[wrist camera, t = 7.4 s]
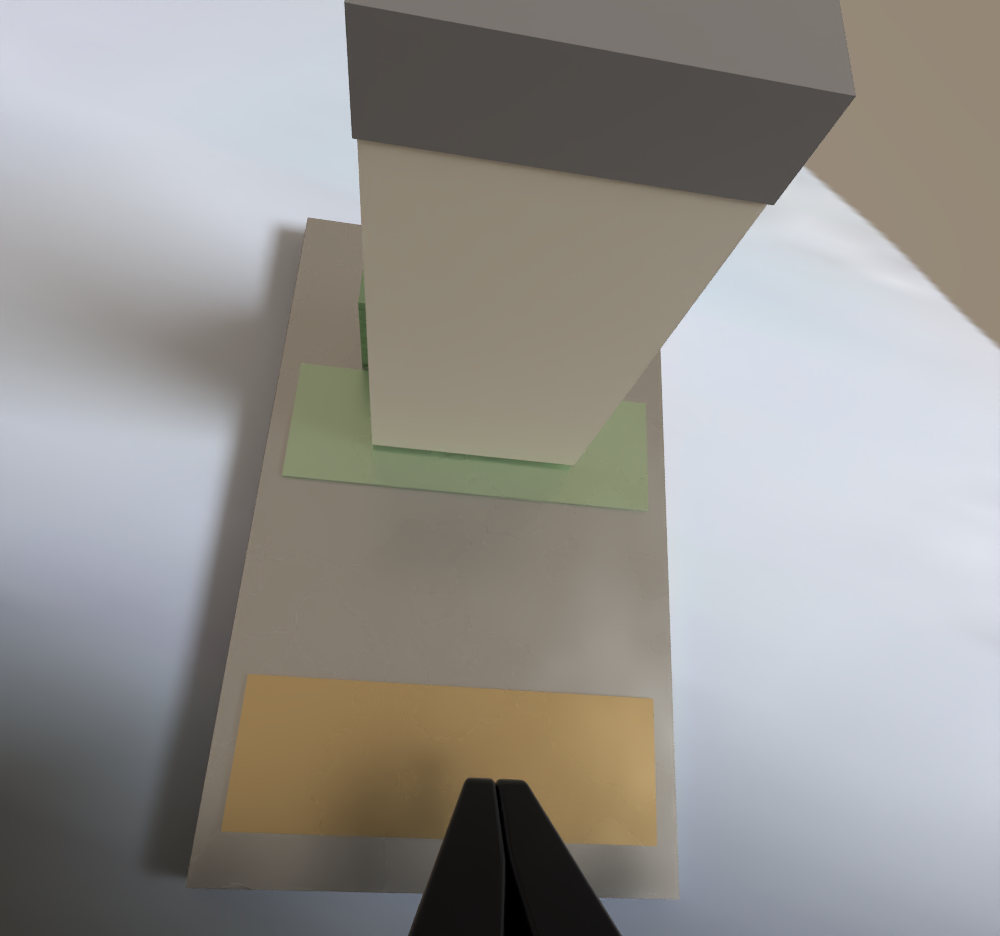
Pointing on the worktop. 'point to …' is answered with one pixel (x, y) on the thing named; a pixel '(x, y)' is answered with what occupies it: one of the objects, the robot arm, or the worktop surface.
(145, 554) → the worktop surface
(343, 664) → the base
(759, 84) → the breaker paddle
